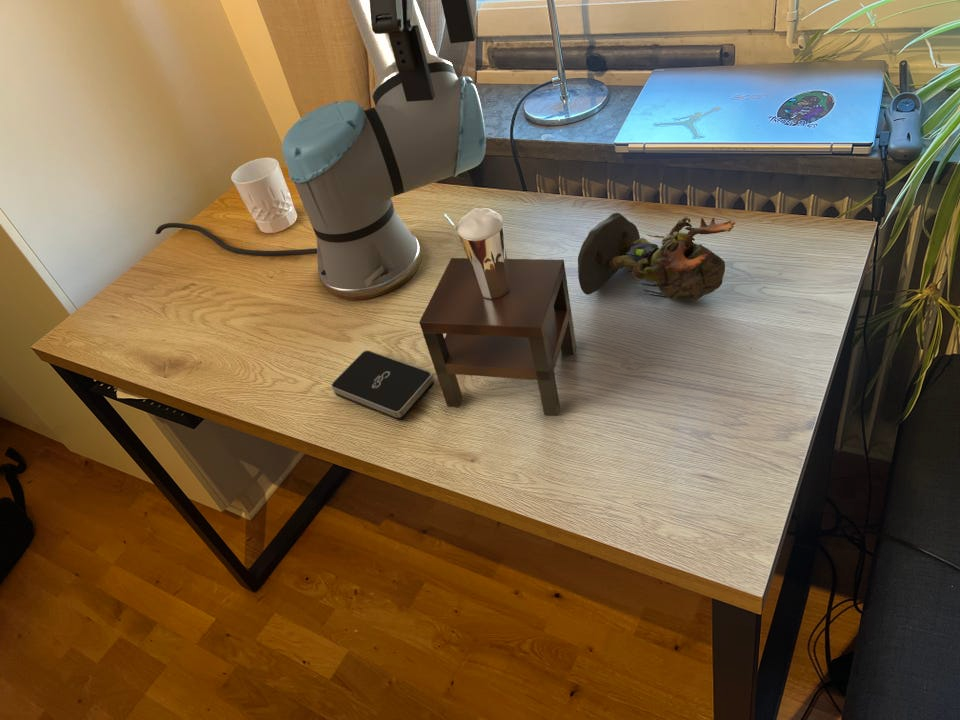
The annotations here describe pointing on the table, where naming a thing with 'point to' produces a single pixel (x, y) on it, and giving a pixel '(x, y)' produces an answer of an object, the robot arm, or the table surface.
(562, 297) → the small wooden side table
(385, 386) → the external hard drive
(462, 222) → the milkshake
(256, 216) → the white cup
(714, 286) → the figurine
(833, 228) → the table surface
